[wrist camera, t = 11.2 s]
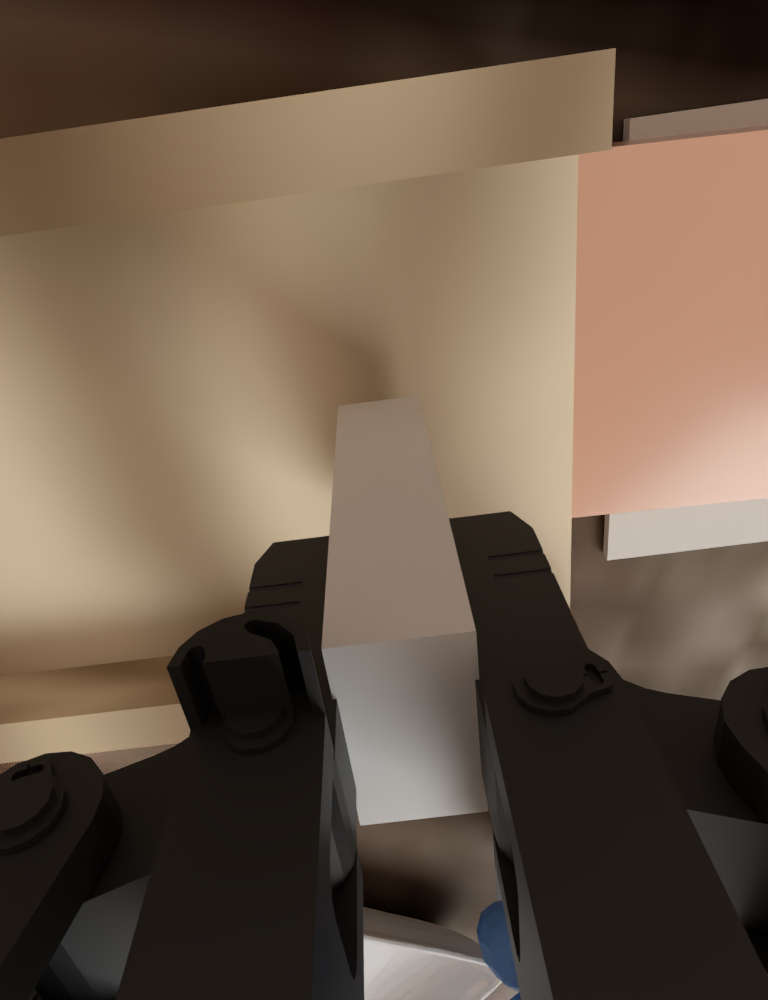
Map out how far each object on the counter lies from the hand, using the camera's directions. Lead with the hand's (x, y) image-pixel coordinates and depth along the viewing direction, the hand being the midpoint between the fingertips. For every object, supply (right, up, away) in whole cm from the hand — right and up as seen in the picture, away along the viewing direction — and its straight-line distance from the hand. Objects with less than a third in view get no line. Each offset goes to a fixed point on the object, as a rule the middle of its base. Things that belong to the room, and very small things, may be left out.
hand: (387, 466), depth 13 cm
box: (-5, +2, +5) cm, 8 cm away
